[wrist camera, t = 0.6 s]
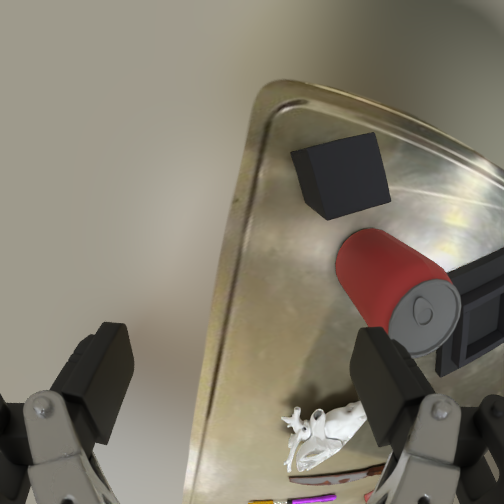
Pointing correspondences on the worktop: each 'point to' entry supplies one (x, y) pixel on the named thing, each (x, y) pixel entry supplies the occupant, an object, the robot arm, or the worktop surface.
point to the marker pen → (300, 500)
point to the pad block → (342, 176)
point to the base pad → (475, 313)
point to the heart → (322, 433)
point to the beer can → (398, 290)
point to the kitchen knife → (338, 477)
